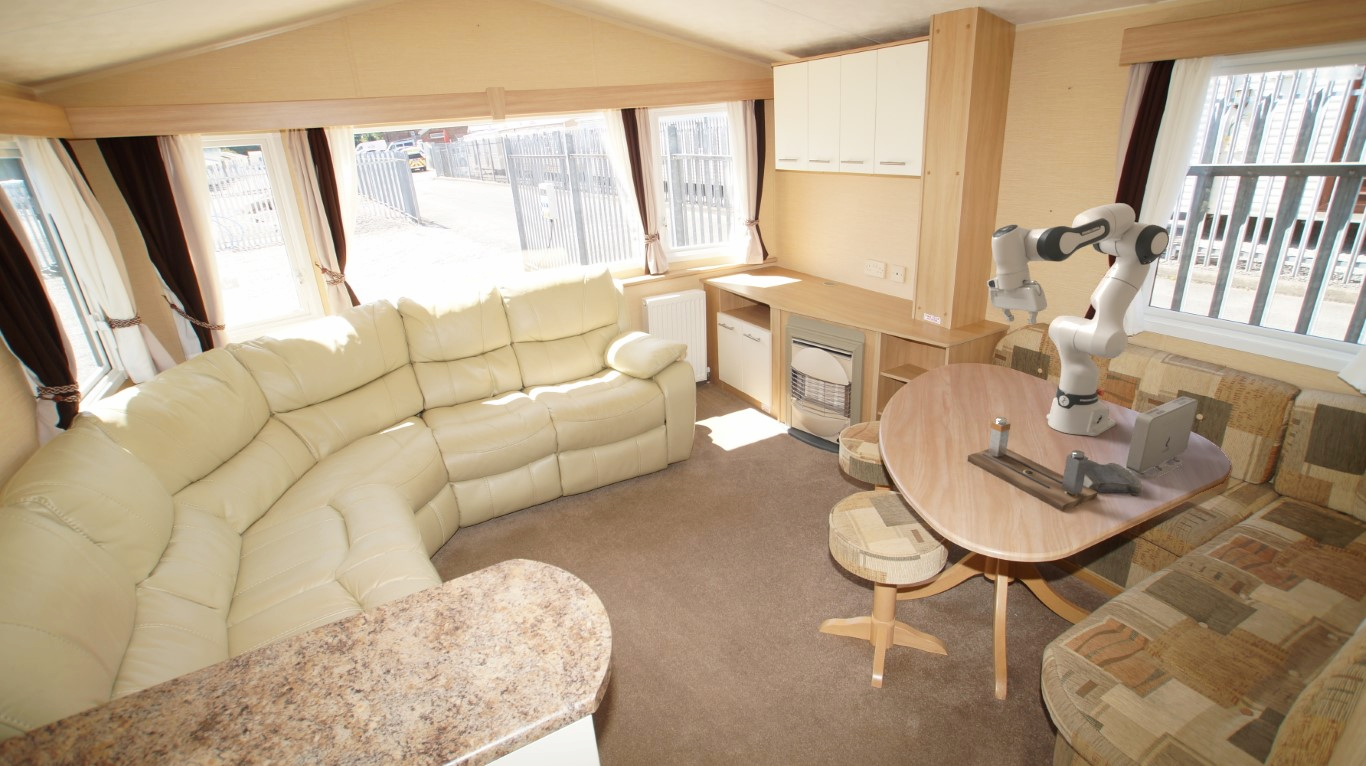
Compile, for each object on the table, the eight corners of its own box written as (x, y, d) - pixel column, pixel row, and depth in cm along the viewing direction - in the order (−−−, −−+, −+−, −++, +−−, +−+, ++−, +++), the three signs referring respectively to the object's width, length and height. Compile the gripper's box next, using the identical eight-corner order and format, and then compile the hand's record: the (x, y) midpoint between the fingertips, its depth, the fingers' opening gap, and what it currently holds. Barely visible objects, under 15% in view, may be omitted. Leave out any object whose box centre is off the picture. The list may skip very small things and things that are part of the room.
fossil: (1144, 498, 181) (1146, 486, 180) (1081, 493, 186) (1083, 482, 184) (1125, 471, 195) (1128, 461, 193) (1068, 467, 199) (1070, 457, 198)
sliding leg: (996, 451, 206) (1001, 415, 201) (1006, 456, 203) (1011, 419, 198) (987, 454, 205) (992, 418, 200) (997, 459, 202) (1002, 422, 197)
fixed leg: (1069, 489, 184) (1076, 448, 179) (1081, 494, 180) (1088, 453, 176) (1060, 492, 182) (1067, 451, 178) (1072, 498, 179) (1079, 456, 174)
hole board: (999, 450, 211) (1000, 443, 210) (1096, 498, 182) (1098, 490, 181) (967, 460, 207) (968, 453, 206) (1061, 511, 177) (1063, 503, 176)
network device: (1145, 483, 188) (1159, 422, 180) (1114, 471, 195) (1126, 412, 188) (1192, 459, 198) (1207, 401, 191) (1162, 448, 205) (1175, 392, 198)
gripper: (1048, 277, 184) (1055, 322, 187) (999, 275, 203) (1007, 316, 207) (1029, 284, 183) (1037, 329, 186) (982, 282, 202) (990, 322, 206)
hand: (1021, 322), depth 196 cm, fingers open, 8 cm apart
